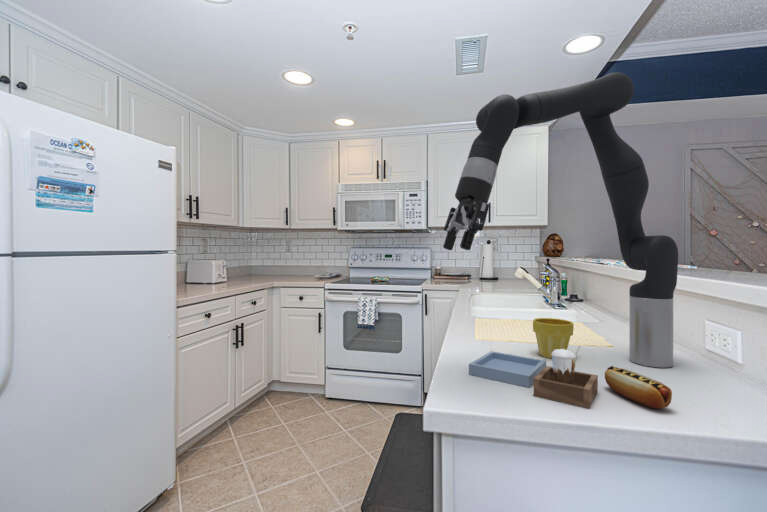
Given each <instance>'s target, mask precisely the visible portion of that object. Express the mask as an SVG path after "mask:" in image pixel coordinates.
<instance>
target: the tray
mask: <svg viewBox="0 0 767 512" xmlns="http://www.w3.org/2000/svg"><path fill="white" fill-rule="evenodd" d="M546 366H547V360H546V359H539V358H534V357H529V356H528V357H527V356H522V355H516V354H510V353H504V352H497V351H489V352H487V353H485V354H484V355H482V356H480V357H478V358H477V359H475V360H473V361H471V362H470V363H468V375H470V376H475V377H478V378H483V379H488V380H492V381H498V382H502V383H507V384H511V385H515V386H519V387H520V386H521V387H524V388H531V387H533V386H534V378H535V377H536V376H537V375H538V374H539V373H540V372H541V371H542V370H543V369H544V368H545V367H546Z"/></svg>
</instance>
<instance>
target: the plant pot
mask: <svg viewBox="0 0 767 512" xmlns="http://www.w3.org/2000/svg"><path fill="white" fill-rule="evenodd" d="M532 332H534V333H535V338H536V343H537V347H538V353H539V355H540V356H542V357H543V358H549V359H552V352H553V351H554V350H555V349H565V350H568V347H569V344H570V340H571V337H573V335H574V322H573V321H570V320H566V319H561V318H553V317H537V318H534V319H533V320H532Z"/></svg>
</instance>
